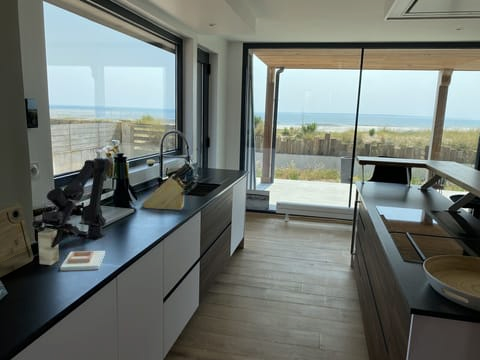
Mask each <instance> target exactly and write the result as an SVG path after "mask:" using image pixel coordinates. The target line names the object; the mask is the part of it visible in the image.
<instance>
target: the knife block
mask: <svg viewBox="0 0 480 360" xmlns="http://www.w3.org/2000/svg"><path fill="white" fill-rule="evenodd" d="M194 169H195V167H194V166H193V165H192V164H190V162H189V161H187V162H186V163H185V164H183V165H182V166H181V167H180V168H179V169H178V170H177V171H176V172H175V173H173V174H172V175H171V176H170V177H169V178H168V179H166V180H165V182H163V183H162V184H161V185H160V186H159V187H158V188H157V189H156V190H155V191H154V192H152V194H151V195H149V196H148V197H147V198H146V199H144V201H143V202H141V206H142V207H143V208H144V209H145V208H146V209H158V210H176V211H181V210H182V209H183V208H184V207H185V195H187V194H188V193H189V192H191V190H193V189H195V188H196V186H197V184H198V183H197V182H195V181H196V180H197V178H198V177H199V174H196V175H191V176H190V177H189V178H188V179H186V180H185V182H184V183H183V182H182V181H183V180H184V179H185V178H186V177H188V175H189V174H190V173H192V172H193V170H194ZM193 182H194V183H193Z"/></svg>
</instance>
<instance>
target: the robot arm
mask: <svg viewBox="0 0 480 360" xmlns="http://www.w3.org/2000/svg"><path fill="white" fill-rule="evenodd" d="M111 166H112V165H111V161H110V160H109V159H108V158H100V157H99V158H98V157H97V158H96V157H95V158H94V159H86V160H85V161H84V165H83V166H82V167H81V169H80V170H79V172H78V174H77V175H76V177H75V179H74V180H73V181H72V182H70V183H68V184H67V185H65V187H64V188H62V187H60V186H56V187H55V188H54V189H53V188H52V189H51V190H50V191H48V193H47V194H46V199H47V200H48V201H49V202H50V203H51V204H52V205H53V206H54V207H56V210H54V211H52V212H51V211H43V212H42V216H41V219H40V220H39V219H34V220H33V221H32V222H31V224H30V226H32V228H33V229H35V230H36V231H37V232H41V231H43V230H44V229H46V228H51V229H52V230H57V235H56V237H55V239H54V241H53V243H52V246H51V247H52V248H54V247H55V246H56V245H57V244H58V245H60V243H61V242H62V241H64V240H65V239H67V238H68V237H69V238H70V237H71V236H75V237H78V235H79V233H80V229H79V228H78V227H77V226H76V225H75V224H74V223H67V222H70V220H71V218H70V216H71V214H72V212H73V210H77V209H78V207H77V205H76V203H75V202H78V201H81V199H82V198H83V195H84V194H85V185H87V183H88V181H89V179H90V177H91V176H92V175H93V178H92V183H91V185H92V186H91V191H90V198H89V204H88V205H87V206H86V207H84V208H83V213H82V220H83V221H82V222H83V223H84V226H87V235H86V236H85V238H87V239H90V240H91V239H93V240H99V239H100V238H103V237H105V236H106V234H103V227H105V225H106V222H107V220H106V218H105V217H104V216H103V209H102V208H101V201H102V194H103V188H104V180H105V177H106V176H107V175H108V174H109V171H110V169H111ZM73 201H75V202H73ZM44 220H45V221H46V222H47V223H46V222H45V221H44Z"/></svg>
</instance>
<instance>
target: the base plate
mask: <svg viewBox="0 0 480 360" xmlns="http://www.w3.org/2000/svg"><path fill="white" fill-rule="evenodd" d="M105 255H106V250H85V251H82V250H80V251H79V250H78V251H70V252H69V254H68V255H67V257H66V258H65V260H64V261H63V262H62V264H61V265H60V271H61V272H64V271H88V270H90V271H91V270H99V269H100V266H101V264H102V262H103V260H104V257H105Z"/></svg>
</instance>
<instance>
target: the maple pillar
mask: <svg viewBox="0 0 480 360" xmlns="http://www.w3.org/2000/svg"><path fill="white" fill-rule="evenodd" d="M56 235H57V230H51V228H46V229H44V230H43V231H41V232H40V231H38V232H37V238H38V239H37V241H38V242H37V243H38V256H39V257H38V258H39V264H40V265H48V266H52V265H53V264H55V263H57V262H59V261H60V252H59V244H57V245H56V246H55V247H54V248H52V247H51V246H52V243H53V241H54V239H55V237H56Z"/></svg>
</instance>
